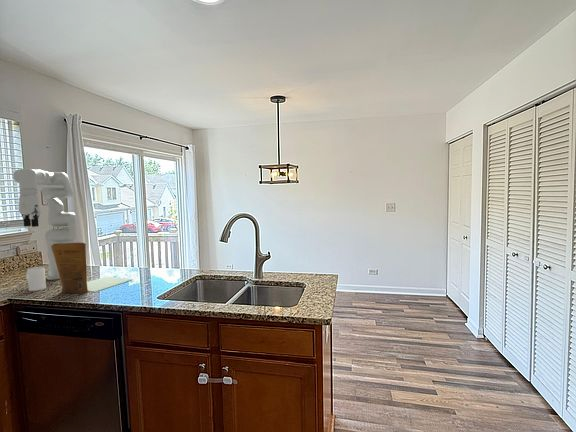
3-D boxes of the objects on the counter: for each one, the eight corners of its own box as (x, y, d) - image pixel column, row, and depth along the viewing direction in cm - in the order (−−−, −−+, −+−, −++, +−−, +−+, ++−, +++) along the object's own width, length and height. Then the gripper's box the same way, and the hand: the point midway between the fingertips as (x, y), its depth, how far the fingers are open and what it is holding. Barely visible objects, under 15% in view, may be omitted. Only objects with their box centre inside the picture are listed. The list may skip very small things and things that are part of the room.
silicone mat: (66, 288, 198) (66, 287, 198) (106, 277, 223) (106, 276, 223) (94, 292, 190) (94, 291, 190) (132, 279, 215) (132, 279, 215)
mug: (20, 289, 197) (19, 269, 196) (36, 285, 205) (34, 265, 204) (35, 291, 193) (33, 270, 192) (50, 287, 201) (48, 267, 200)
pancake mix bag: (84, 294, 185) (81, 243, 183) (53, 293, 188) (49, 243, 186) (93, 291, 192) (90, 241, 190) (62, 290, 195) (59, 241, 193)
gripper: (10, 192, 182) (13, 226, 184) (32, 192, 176) (34, 227, 177) (25, 192, 189) (28, 225, 191) (46, 192, 183) (49, 226, 184)
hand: (31, 226), depth 184 cm, fingers open, 5 cm apart
